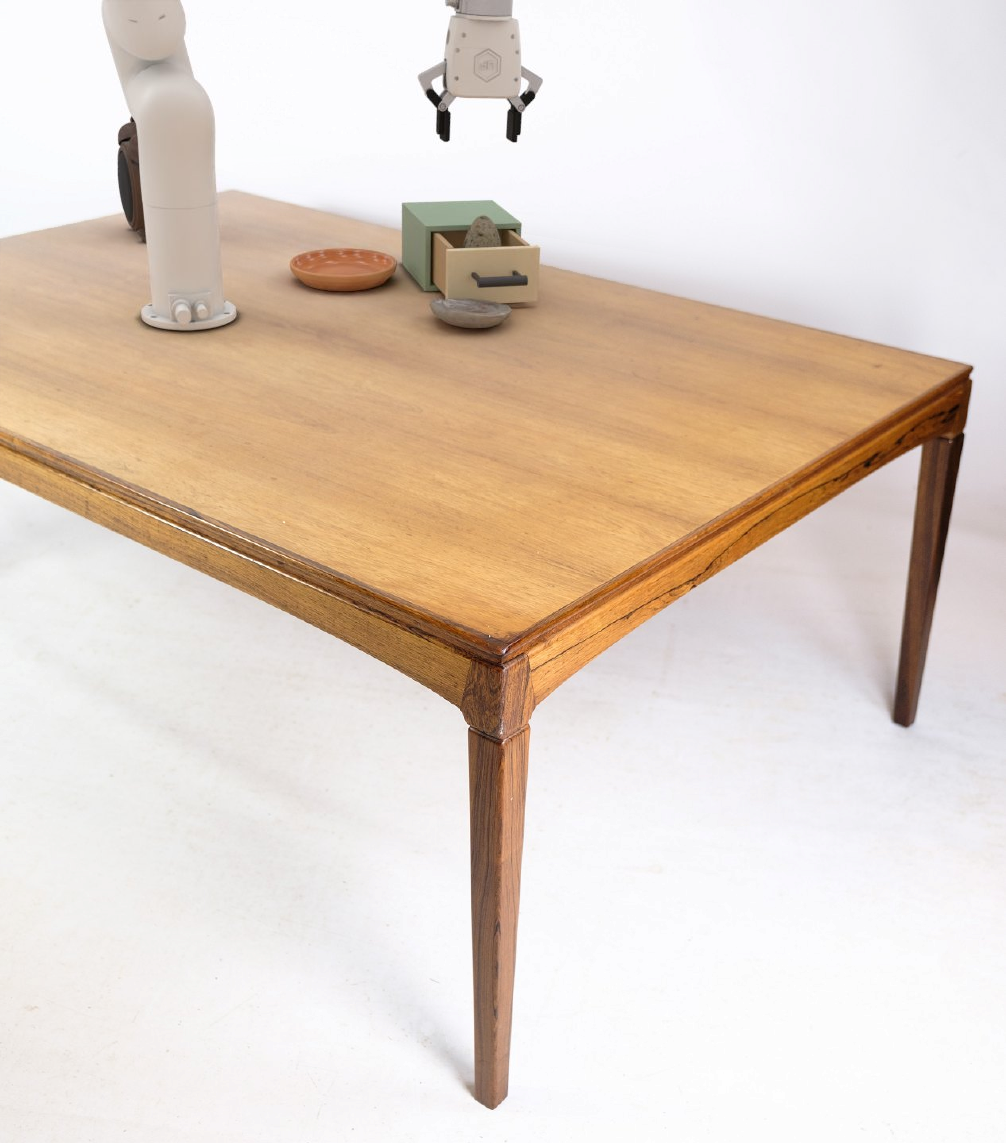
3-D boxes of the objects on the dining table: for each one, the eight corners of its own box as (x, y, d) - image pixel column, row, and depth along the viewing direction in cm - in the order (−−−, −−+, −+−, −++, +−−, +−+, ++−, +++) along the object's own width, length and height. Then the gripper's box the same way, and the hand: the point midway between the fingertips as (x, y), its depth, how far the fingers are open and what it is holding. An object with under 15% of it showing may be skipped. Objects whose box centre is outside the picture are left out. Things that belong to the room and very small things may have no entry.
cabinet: (519, 287, 195) (521, 223, 191) (425, 291, 191) (425, 226, 187) (490, 260, 208) (492, 200, 204) (401, 264, 204) (401, 202, 200)
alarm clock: (117, 227, 219) (104, 103, 210) (160, 224, 222) (149, 101, 212) (134, 247, 207) (121, 117, 198) (179, 244, 210) (168, 115, 201)
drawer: (548, 311, 181) (551, 256, 178) (456, 316, 178) (457, 260, 174) (508, 274, 198) (510, 223, 194) (423, 278, 194) (423, 226, 190)
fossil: (472, 313, 185) (473, 293, 184) (523, 330, 177) (525, 310, 176) (412, 318, 179) (413, 298, 178) (463, 336, 171) (465, 315, 170)
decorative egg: (510, 285, 189) (512, 216, 184) (483, 293, 184) (486, 222, 180) (479, 277, 192) (481, 209, 187) (452, 284, 188) (453, 215, 183)
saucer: (281, 292, 188) (280, 272, 187) (300, 264, 202) (299, 245, 201) (391, 297, 188) (391, 277, 186) (402, 269, 202) (401, 249, 201)
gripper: (427, 6, 165) (423, 145, 173) (554, 11, 170) (545, 146, 178) (414, 1, 172) (411, 135, 180) (537, 6, 176) (529, 136, 184)
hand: (478, 140), depth 179 cm, fingers open, 9 cm apart
